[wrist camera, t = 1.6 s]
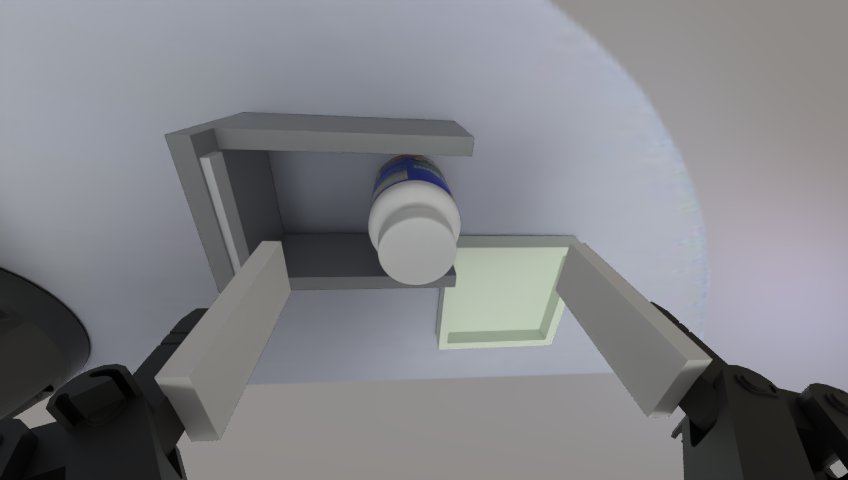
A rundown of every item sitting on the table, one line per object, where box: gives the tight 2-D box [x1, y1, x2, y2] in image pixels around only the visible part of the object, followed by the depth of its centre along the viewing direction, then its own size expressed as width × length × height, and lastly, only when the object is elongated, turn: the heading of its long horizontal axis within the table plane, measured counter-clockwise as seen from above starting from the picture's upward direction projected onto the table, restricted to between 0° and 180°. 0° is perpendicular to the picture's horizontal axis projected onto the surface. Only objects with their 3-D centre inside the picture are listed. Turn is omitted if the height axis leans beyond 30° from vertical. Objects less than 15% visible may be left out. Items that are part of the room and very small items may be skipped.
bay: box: [165, 112, 474, 294], centre depth 20 cm, size 14×10×8 cm
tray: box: [436, 236, 581, 350], centre depth 28 cm, size 12×12×2 cm
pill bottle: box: [368, 155, 461, 285], centre depth 19 cm, size 5×5×10 cm
